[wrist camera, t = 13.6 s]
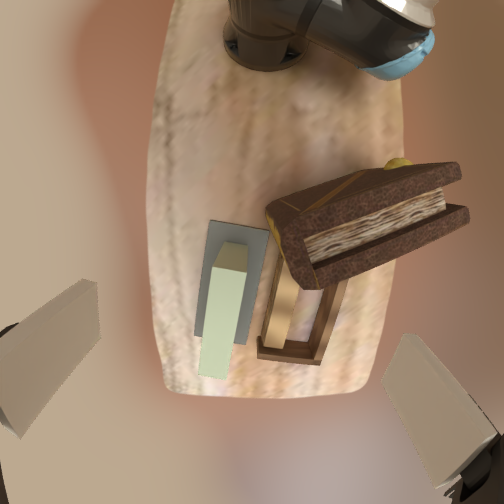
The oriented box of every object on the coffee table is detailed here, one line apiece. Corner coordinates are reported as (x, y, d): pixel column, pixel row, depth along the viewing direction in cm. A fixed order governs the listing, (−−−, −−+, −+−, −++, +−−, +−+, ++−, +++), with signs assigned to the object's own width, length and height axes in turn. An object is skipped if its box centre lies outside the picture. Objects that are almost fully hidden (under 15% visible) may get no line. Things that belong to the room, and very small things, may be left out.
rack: (279, 237, 47) (283, 244, 41) (342, 249, 47) (354, 258, 41) (256, 341, 51) (257, 358, 45) (313, 348, 52) (319, 365, 46)
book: (276, 246, 47) (303, 308, 23) (259, 199, 45) (268, 212, 21) (388, 204, 45) (486, 224, 21) (375, 159, 43) (470, 145, 19)
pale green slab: (224, 241, 46) (212, 266, 31) (248, 245, 46) (246, 272, 32) (211, 325, 50) (197, 374, 35) (232, 329, 50) (226, 380, 35)
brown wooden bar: (280, 248, 47) (284, 255, 42) (300, 251, 47) (306, 260, 42) (261, 333, 51) (262, 349, 46) (279, 336, 51) (281, 351, 46)
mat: (210, 219, 46) (209, 220, 45) (269, 230, 46) (269, 231, 46) (194, 333, 51) (193, 335, 50) (245, 342, 51) (245, 345, 51)
